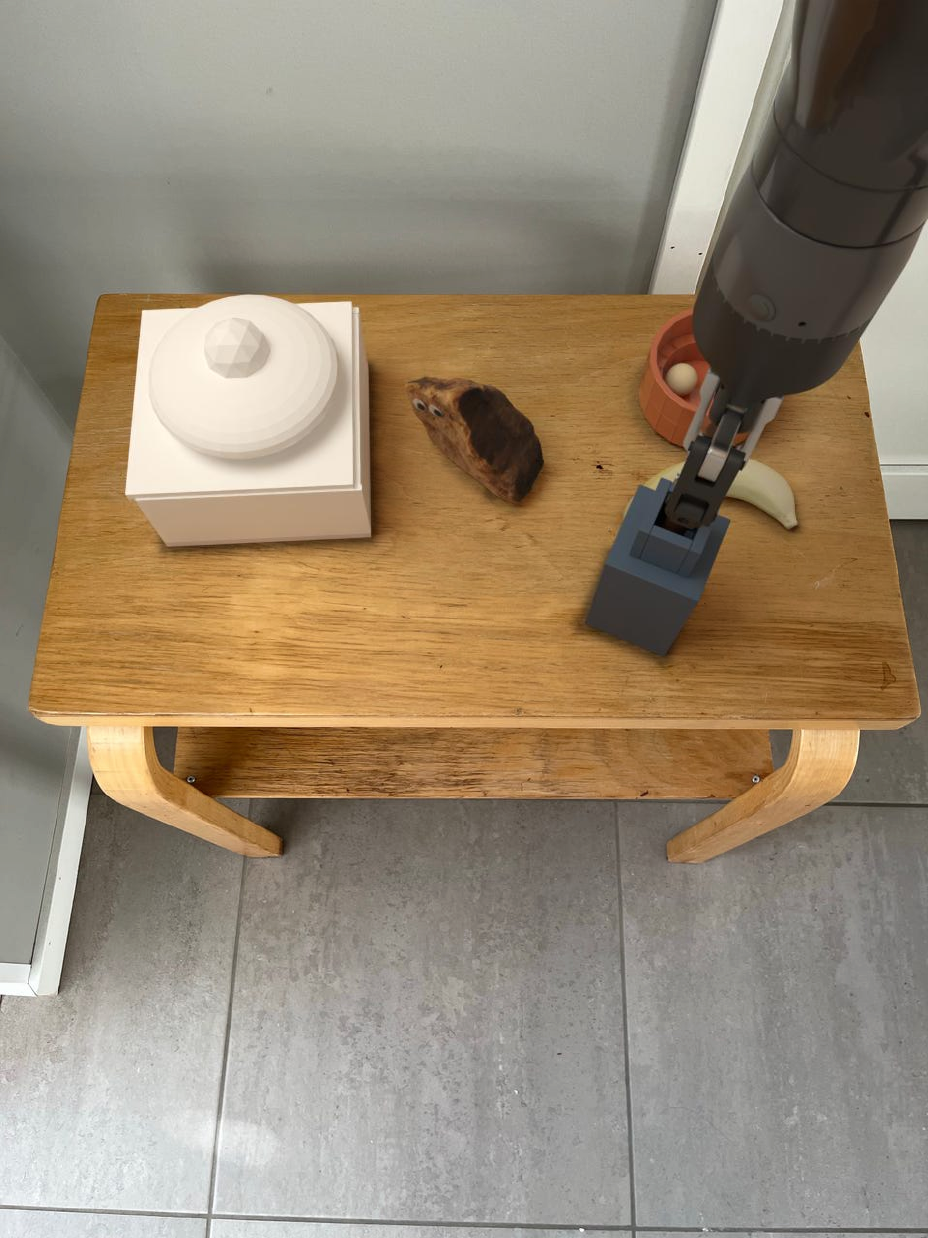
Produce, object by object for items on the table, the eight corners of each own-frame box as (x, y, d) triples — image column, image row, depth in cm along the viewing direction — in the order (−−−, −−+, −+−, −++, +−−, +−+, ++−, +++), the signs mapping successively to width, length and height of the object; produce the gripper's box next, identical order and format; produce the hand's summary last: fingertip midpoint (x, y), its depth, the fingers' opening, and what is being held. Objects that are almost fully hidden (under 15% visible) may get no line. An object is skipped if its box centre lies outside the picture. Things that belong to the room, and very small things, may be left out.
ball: (697, 382, 83) (705, 363, 81) (687, 406, 82) (694, 387, 80) (668, 371, 84) (675, 352, 81) (658, 395, 83) (664, 376, 80)
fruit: (607, 479, 80) (612, 460, 77) (774, 458, 81) (786, 438, 78) (623, 553, 78) (630, 536, 75) (796, 530, 78) (809, 512, 75)
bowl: (777, 375, 84) (799, 333, 78) (738, 472, 80) (759, 435, 75) (662, 334, 86) (676, 289, 80) (619, 427, 82) (631, 387, 77)
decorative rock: (405, 445, 81) (396, 371, 71) (447, 400, 83) (444, 322, 73) (512, 520, 79) (518, 454, 69) (553, 471, 80) (566, 400, 70)
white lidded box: (371, 537, 78) (349, 435, 63) (161, 547, 78) (89, 447, 63) (369, 366, 85) (348, 237, 70) (173, 374, 84) (111, 247, 69)
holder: (692, 585, 77) (747, 491, 62) (663, 657, 74) (713, 578, 59) (614, 553, 78) (650, 454, 63) (583, 623, 75) (613, 538, 60)
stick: (683, 536, 65) (737, 426, 52) (675, 554, 64) (728, 448, 51) (661, 527, 65) (711, 416, 52) (654, 546, 65) (701, 438, 52)
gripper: (840, 423, 36) (729, 583, 51) (929, 175, 41) (803, 389, 56) (662, 358, 37) (605, 533, 53) (769, 124, 42) (688, 347, 57)
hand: (707, 459), depth 54 cm, fingers open, 8 cm apart
